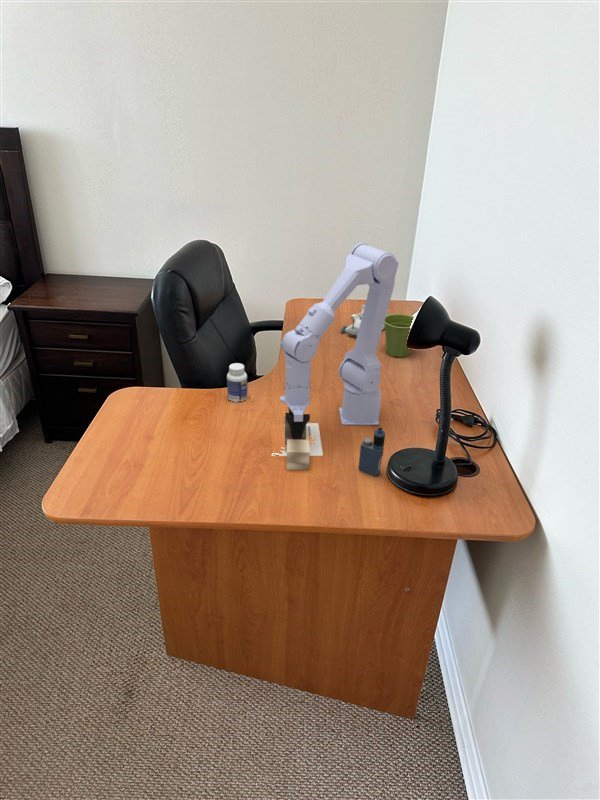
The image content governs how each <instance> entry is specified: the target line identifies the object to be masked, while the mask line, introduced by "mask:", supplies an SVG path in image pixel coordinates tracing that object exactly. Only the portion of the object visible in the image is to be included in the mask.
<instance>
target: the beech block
mask: <svg viewBox="0 0 600 800" xmlns="http://www.w3.org/2000/svg"><path fill="white" fill-rule="evenodd" d="M310 457H311V456H310V449H309V440H295V439H287V456H286V470H287V471H289V470H294V471H295V470H296V471H297V470H298V471H300V470H302V471H309V469H310Z"/></svg>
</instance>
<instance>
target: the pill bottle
mask: <svg viewBox="0 0 600 800" xmlns="http://www.w3.org/2000/svg"><path fill="white" fill-rule="evenodd" d="M226 386H227V387H226V388H227V399H228V401H230V400H231V401H230V402H232V401H234V402H233V403H238V402H237V401H243V400H245V399H246V400H247V399H248V374H247V373H246V371H245V365H244V364H243V363H239V362H235V363H231V364H230V365H229V366H228V372H227V374H226ZM246 400H245V401H246ZM243 402H244V401H243Z"/></svg>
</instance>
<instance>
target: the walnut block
mask: <svg viewBox="0 0 600 800" xmlns="http://www.w3.org/2000/svg"><path fill="white" fill-rule="evenodd" d="M283 417H284V422H283V423H284V439H285V445H287V439H292V435H291V430H290V426H289V423H288V422H287V420H286V416H285V415H284V416H283ZM295 440H306V426H305V428H304V432H303V435H302V438H301V439H295Z"/></svg>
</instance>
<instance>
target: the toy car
mask: <svg viewBox="0 0 600 800" xmlns="http://www.w3.org/2000/svg"><path fill="white" fill-rule="evenodd" d="M364 307H365V304H361V309H360V310H361V311H360V312H359V313H356V314H355V313H353V314H352V315H350V319H351V320H352V324H350V325H349V326H347V325H342V327H341V329H340V334H342V335H344V334H346V333H347V334H350V335H353V336H357V335H358V331H359V327H360V323H361V319H362V315H363V311H364ZM389 312H390V311H389V309H388V310H387V314H386V316H387V315H389V314H390V313H389ZM383 330H385V328H384V325H383V329H382V331H383Z"/></svg>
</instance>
